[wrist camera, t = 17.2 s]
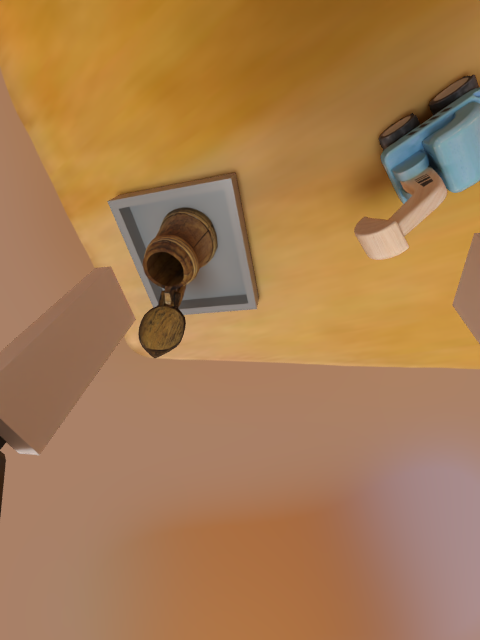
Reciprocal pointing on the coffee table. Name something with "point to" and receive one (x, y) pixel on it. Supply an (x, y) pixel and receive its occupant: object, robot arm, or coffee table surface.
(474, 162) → the toy excavator
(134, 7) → the coffee table surface
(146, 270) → the wooden mug
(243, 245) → the slate tray
